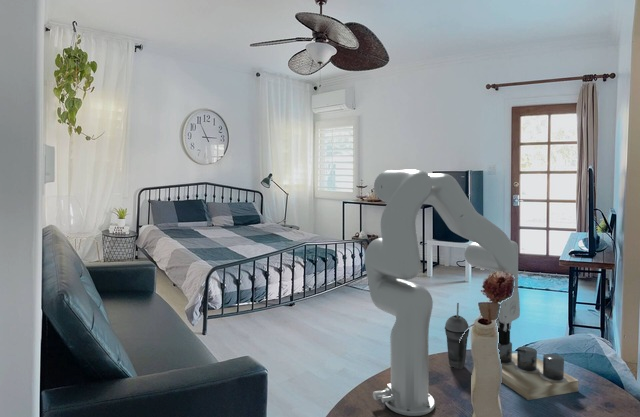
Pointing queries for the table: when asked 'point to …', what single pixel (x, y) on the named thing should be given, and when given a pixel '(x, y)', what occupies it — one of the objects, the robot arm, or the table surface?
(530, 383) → the mount plate
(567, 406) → the table surface
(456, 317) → the beverage cup
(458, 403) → the table surface
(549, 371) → the knob right
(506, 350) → the knob left
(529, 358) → the knob mid
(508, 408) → the table surface
